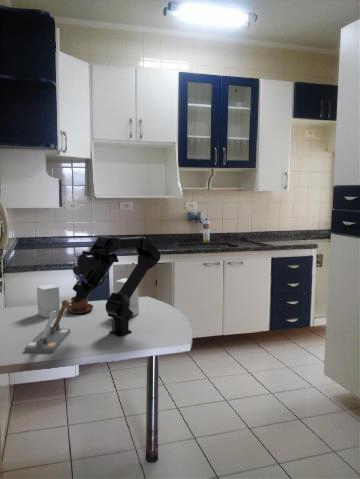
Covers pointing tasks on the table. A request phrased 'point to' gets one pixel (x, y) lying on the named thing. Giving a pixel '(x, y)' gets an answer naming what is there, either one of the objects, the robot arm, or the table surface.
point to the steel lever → (48, 324)
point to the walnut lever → (61, 312)
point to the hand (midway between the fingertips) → (81, 297)
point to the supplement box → (48, 299)
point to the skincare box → (133, 299)
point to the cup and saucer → (79, 306)
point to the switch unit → (48, 340)
